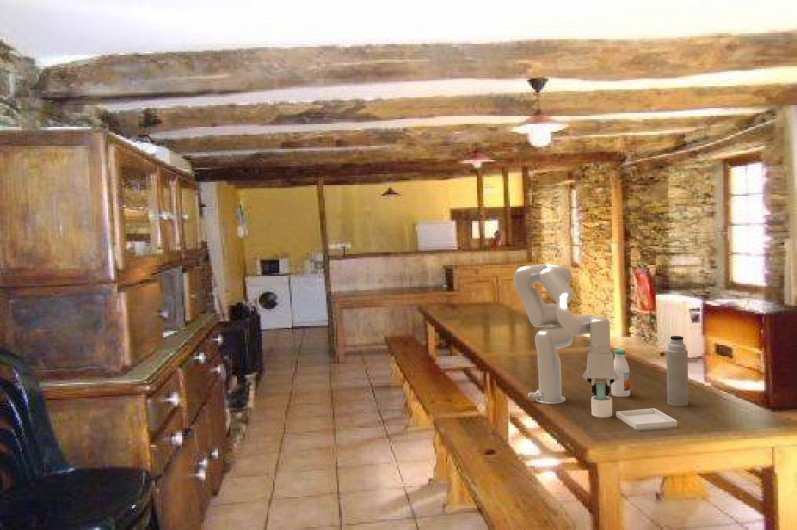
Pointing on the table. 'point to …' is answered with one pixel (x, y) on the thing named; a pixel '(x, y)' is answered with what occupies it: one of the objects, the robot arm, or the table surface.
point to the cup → (601, 407)
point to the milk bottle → (621, 375)
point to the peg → (600, 391)
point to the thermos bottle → (677, 372)
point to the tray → (647, 419)
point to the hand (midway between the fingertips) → (601, 394)
